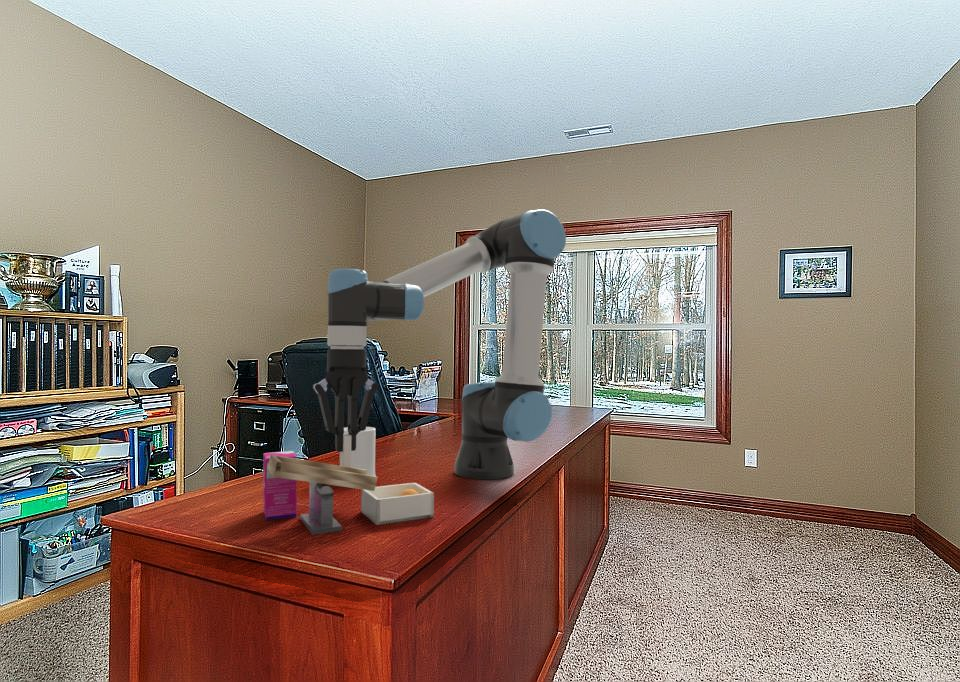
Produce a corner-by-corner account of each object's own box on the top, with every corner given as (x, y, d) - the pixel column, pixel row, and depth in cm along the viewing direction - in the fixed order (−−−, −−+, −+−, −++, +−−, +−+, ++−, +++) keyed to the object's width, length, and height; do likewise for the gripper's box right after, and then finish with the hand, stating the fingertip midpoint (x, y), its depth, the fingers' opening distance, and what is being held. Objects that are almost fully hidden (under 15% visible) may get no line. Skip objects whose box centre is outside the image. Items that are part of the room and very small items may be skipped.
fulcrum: (327, 515, 109) (328, 474, 109) (341, 530, 100) (342, 486, 100) (300, 518, 106) (301, 477, 106) (312, 534, 97) (313, 489, 97)
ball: (419, 497, 114) (407, 482, 113) (427, 502, 111) (415, 487, 110) (403, 511, 113) (392, 496, 112) (411, 517, 109) (399, 501, 108)
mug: (355, 470, 147) (356, 423, 147) (386, 472, 145) (387, 425, 145) (333, 481, 136) (334, 430, 136) (366, 483, 134) (367, 432, 134)
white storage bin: (414, 504, 117) (415, 482, 117) (433, 516, 109) (433, 493, 109) (361, 511, 111) (361, 488, 111) (376, 525, 103) (376, 499, 103)
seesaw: (353, 475, 116) (356, 463, 116) (374, 490, 104) (377, 477, 104) (261, 461, 107) (265, 448, 108) (273, 476, 96) (277, 461, 96)
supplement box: (262, 512, 110) (263, 452, 110) (294, 509, 112) (295, 450, 113) (263, 520, 105) (264, 457, 105) (297, 517, 107) (298, 455, 107)
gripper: (372, 348, 120) (371, 461, 120) (309, 347, 113) (307, 467, 113) (384, 348, 113) (383, 468, 113) (317, 347, 107) (316, 474, 107)
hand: (345, 467), depth 113 cm, fingers closed
